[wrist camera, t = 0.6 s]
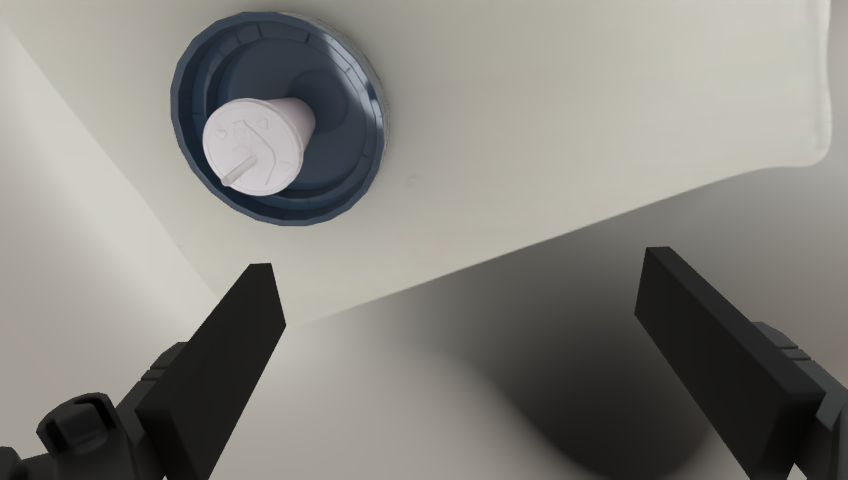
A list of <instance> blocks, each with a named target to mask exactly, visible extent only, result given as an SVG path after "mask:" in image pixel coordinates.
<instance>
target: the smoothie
mask: <svg viewBox="0 0 848 480" xmlns="http://www.w3.org/2000/svg"><path fill="white" fill-rule="evenodd" d="M314 129H315V116H314V113H313V111H312V109H311V108H310V107H309V106H308V105H307V104H306V103H305V102H304V101H302V100H300V99H298V98H293V97H289V98H281V99H273V100H265V101H262V100H258V99H252V98H243V99H235V100H233V101H231V102H228V103H226V104H224V105H223V106H222V107H220V108H218V109H217V110H216V111H215V112H214V113H213V114H212V115H211V116H210V117H209V119H208V121H207V123H206V125H205V128H204V132H203V148H204V153H205V156H206V158H207V161H208V163H209V165H210V166H211V168H212V169H213V171H214V172H215V173H216V175H217V176H218V177H219V178H220V179H221V182H222V184H223V185H224V186H230V187H232V188H233V189H235V190H237V191H240V192H242V193H245V194H249V195H255V196H265V195H271V194H274V193H277V192H279V191H281V190H283V189H284V188H285V187H287V186H288V185H289V184H290V183H291V182H292V181H294V179H295V178H296V176H297V175H298V173H299V172H300V169H301V166H302V163H303V153H304V151H305V148H306V146H307V144H308V142H309V140H310V138H311V136H312V133H313V131H314Z"/></svg>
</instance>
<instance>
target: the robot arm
mask: <svg viewBox="0 0 848 480" xmlns="http://www.w3.org/2000/svg"><path fill="white" fill-rule="evenodd" d="M634 314H635V316H636V317H637V318H638V320H639V321H640V322H641V324H642V326H643V327H644V328H645V330H646V331H647V333H648V334H649V336H650V337H651V338H652V340H653V341H654V343H655V344H656V345H657V347H658V348H659V350H660V351H661V353H662V354H663V355H664V357H665V358H666V360H667V361H668V363H669V364H670V366H671V367H672V368H673V370H674V371H675V373H676V374H677V375H678V377H679V378H680V380H681V381H682V383H683V384H684V386H685V387H686V388H687V390H688V391H689V393H690V394H691V396H692V397H693V398H694V400H695V401H696V403H697V404H698V406H699V407H700V408H701V410H702V411H703V413H704V414H705V415H706V417H707V418H708V420H709V421H710V423H711V424H712V425H713V427H714V428H715V430H716V431H717V433H718V434H719V435H720V437H721V438H722V440H723V441H724V443H725V444H726V445H727V447H728V448H729V449H730V451H731V452H732V454H733V456H734V457H735V458H736V460H737V461H738V463H739V464H740V465H741V467H742V468H743V470H744V471H745V473H746V474H747V475H748V477H749V478H750V480H787V477H788V475H789V473H790V471H791V469H792V467H793V465H794V463H795V464H796V465H797V466H798V468H799V469H800V470H801V471H802V472H803V474H804V475H805V476H806V477H807V480H848V390H847V389H846V388H845V387H844V386H842V385H841V384H840V383H839V382H838V381H837V380H836V379H834V377H832V376H831V375H830V374H829V373H828V372H827V371H826V370H824V369H823V368H822V367H821V366H820V365H819V364H817V363H816V362H815V361H812V360H811V357H809V356H808V355H807V354H806V353H804V351H803V350H801V349H798V346H797V345H796V344H795V343H793V342H792V341H791V340H790V339H789V338H788V337H787V336H785V335H784V334H783V333H781V332H780V331H778V330H776V329H774V328H772V327H770V326H769V325H767V324H765V323H763V322H750V321H749V320H748V319H747V318H746V317H745V316H744V315H743V314H742V313H740V312H739V311H738V310H737V309H736V308H735V307H734V306H733V305H732V304H731V303H730V302H729V301H728V300H726V299H725V298H724V297H723V296H722V295H721V294H720V293H719V292H718V291H717V290H716V289H715V288H713V287H712V286H711V285H710V284H709V283H708V282H707V281H706V280H705V279H704V278H703V277H702V276H700V275H699V274H698V273H697V272H696V271H695V270H694V269H693V268H692V267H691V266H690V265H688V263H686V262H685V261H684V260H683V259H682V258H681V257H680V256H679V255H678V254H677V253H676V252H675V251H673V250H672V249H671V248H670V247H647V248H646V252H645V258H644V263H643V269H642V274H641V279H640V285H639V290H638V296H637V301H636V307H635V312H634ZM285 327H286V323H285V318H284V314H283V310H282V306H281V302H280V298H279V294H278V290H277V286H276V281H275V277H274V273H273V269H272V265H271V263H260V264H250V265H249V266H248V267H247V268H246V270H245V271H244V272H243V273H242V275H241V276H240V277H239V278H238V280H237V281H236V282H235V283H234V285H233V286H232V287H231V288H230V290H229V291H228V292H227V293H226V295H225V296H224V297H223V299H222V300H221V301H220V302H219V304H218V305H217V306H216V307H215V309H214V310H213V311H212V312H211V314H210V315H209V316H208V317H207V319H206V320H205V321H204V323H203V324H202V325H201V326H200V327H199V329H198V330H197V331H196V332H195V334H194V335H193V336H192V337H191V339H190V340H189V341H188V342H178V343H176V344H175V345H173V346H172V347H171V348H169V349H168V350H166V351H165V352H163V353H162V354H161V355H160V356H159V357H158V359H157V360H156V361H155V362H154V363H153V364H152V366H151V367H150V370H147V372H146V373H145V374H144V375H143V376H142V377H141V381H138V382H137V383H136V384H135V386H134V387H133V388H132V389H131V390H130V392H129V393H128V394H127V395H126V396H125V397H124V399H123V400H122V401H121V402H120V403H119V404H118V406H117V407H116V408H114V406H113V404H112V402H111V400H110V399H109V397H108V396H107V394H103V393H99V392H97V393H87V394H84V395H81V396H78V397H75V398H72V399H70V400H68V401H67V402H64V403H62V404H60V405H59V406H58V407H56V408H55V409H53V410H52V411H51V412H49V413H48V414H47V415H46V416H45V417H44V418H43V420H42V421H41V422H40V423H39V425H38V428H37V431H36V433H37V435H38V436H39V438H40V439H41V441H42V443H43V444H44V446H45V447H46V449H47V451H48V452H49V453H45V454H42V455H38V456H34V457H31V458H27V459H23V460H21V459H20V457H19V456H18V454H17V453H16V451H15V450H14V449H13V448H12V447H3V446H2V447H0V480H163V478H164V476H166V478H167V480H208V479H209V477H210V475H211V473H212V471H213V469H214V467H215V465H216V463H217V461H218V459H219V457H220V455H221V453H222V451H223V449H224V447H225V445H226V443H227V442H228V440H229V438H230V436H231V434H232V432H233V430H234V428H235V426H236V424H237V422H238V420H239V418H240V416H241V414H242V412H243V410H244V408H245V406H246V404H247V402H248V400H249V398H250V396H251V394H252V392H253V390H254V388H255V386H256V384H257V382H258V380H259V379H260V377H261V375H262V373H263V371H264V369H265V366H266V365H267V363H268V361H269V359H270V357H271V355H272V353H273V351H274V349H275V347H276V345H277V343H278V341H279V339H280V337H281V335H282V333H283V331H284V329H285Z"/></svg>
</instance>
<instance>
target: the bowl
mask: <svg viewBox="0 0 848 480" xmlns="http://www.w3.org/2000/svg"><path fill="white" fill-rule="evenodd" d="M379 80H380V79H379V78H378V76H377V74H376V73H375V71H374V69H373V68H372V66H371V64H370V63H369V61H368V59H367V58H366V56H365V55H364V54H363V53H362V52H361V51H360V50H359V49H358V48H357V47H356V46H355V45H354V44H353V43H352V42H351V41H350V40H349V39H348V38H347V37H346V36H344V34H342V33H341V32H339V31H337V30H336V29H334V28H332V27H331V26H329V25H327V24H326V23H324V22H322V21H321V20H318V19H315V18H311V17H307V16H304V15H300V14H297V13H293V12H242V13H239V14H236V15H233V16H230V17H227V18H224V19H221V20H218V21H216V22H214V23H213V24H212V25H210V26H209V27H208V28H206V29H205V30H204V31H203V32H201V33H200V34H199V35H197V36H196V37H195V38H194V39H193V40H192V41H191V43H190V44H189V46H188V47H187V49H186V51H185V52H184V54H183V55H182V57H181V58H180V60H179V61H178V63H177V67H176V70H175V74H174V78H173V81H172V85H171V90H170V94H171V117H172V118H171V120H172V123H173V127H174V131H175V134H176V138H177V142H178V145H179V147H180V149H181V151H182V153H183V155H184V156H185V158H186V160H187V162H188V164H189V166H190V168H191V169H192V170H193V172H194V173H195V174H196V176H197V177H198V178H199V179H200V180H201V181H202V182H203V184H204V185H205V186H206V187H207V188H208V189H209V191H211V193H213V194H214V195H215V196H217V197H218V198H219V199H220V200H222V201H223V202H224V203H226V204H227V205H228V206H230V207H231V208H233V209H234V210H236V211H238V212H240V213H243V214H245V215H247V216H249V217H251V218H253V219H255V220H258V221H262V222H266V223H270V224H275V225H279V226H309V225H313V224H317V223H321V222H325V221H329V220H331V219H333V218H335V217H336V216H338V215H340V214H342V213H344V212H345V211H347V210H349V209H350V208H352V207H353V206H354V205H355V204H356V202H357V201H358V200H359V199H360V198H361V197H362V196H363V195H364V194H365V193H366V192H367V191H368V189H369V187H370V185H371V184H372V182H373V180H374V178H375V176H376V174H377V172H378V171H379V168H380V165H381V162H382V160H383V157H384V154H385V149H386V145H387V140H388V136H389V116H388V104H387V101H386V98H385V95H384V91H383V88H382V85H381V82H380V81H379ZM289 97H293V98H298V99H300V100H302V101H304V102H305V103H306V104H307V105H308V106H309V107H310V108H311V109H312V111H313V113H314V116H315V129H314V131H313V133H312V136H311V138H310V140H309V142H308V144H307V146H306V148H305V151H304V153H303V163H302V166H301V169H300V172H299V173H298V175H297V176H296V178H295V179H294V181H292V182H291V183H290V184H289V185H288V186H287V187H285V188H284V189H283V190H281V191H279V192H277V193H274V194H271V195H265V196H255V195H249V194H245V193H242V192H240V191H237V190H235V189H233V188H232V187H230V186H224V185H223V184H222V182H221V179H220V178H219V177H218V176H217V175H216V173H215V172H214V171H213V169H212V168H211V166H210V165H209V163H208V161H207V158H206V156H205V153H204V148H203V132H204V128H205V125H206V123H207V121H208V119H209V117H210V116H211V115H212V114H213V113H214V112H215V111H216V110H217V109H218V108H220V107H222V106H223V105H224V104H226V103H228V102H231V101H233V100H235V99H243V98H252V99H258V100H262V101H265V100H273V99H281V98H289Z"/></svg>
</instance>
